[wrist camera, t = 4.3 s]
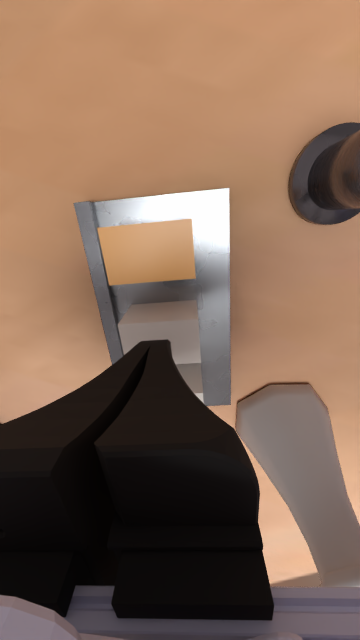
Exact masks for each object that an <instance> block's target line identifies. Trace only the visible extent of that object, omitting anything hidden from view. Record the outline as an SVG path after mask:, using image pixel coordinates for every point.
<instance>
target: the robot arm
mask: <svg viewBox="0 0 360 640" xmlns="http://www.w3.org/2000/svg"><path fill="white" fill-rule="evenodd" d="M259 497H260V491H259V484H258V480H257V476H256V473H255V471H254V468H253V466H252V463H251V461H250V459H249V456H248V454H247V452H246V450H245V448H244V446H243V444H242V442H241V440H240V439H239V437H238V435H237V433H236V431H235V430H234V428H232V427H231V426H230V425H228V424H227V423H226V422H224V421H223V420H222V419H220V418H219V417H218V416H217V415H215V414H214V413H213V412H212V411H211V410H210V409H209V408H208V407H207V406H205V404H204V403H203V402H202V401H201V400H200V399H199V398H198V397H197V396H196V395H195V394H194V393H193V391H192V390H191V389H190V387H189V386H188V385H187V383H186V382H185V380H184V379H183V377H182V376H181V374H180V372H179V370H178V369H177V367H176V364H175V362H174V360H173V357H172V350H171V342H170V341H169V340H168V339H165V340H149V341H140V342H139V343H138V344H137V345H135V346H134V347H133V348H132V349H131V350H130V351H128V352H127V353H126V354H125V355H124V356H123V357H121V358H120V359H119V360H118V361H117V362H115V363H114V364H113V365H112V366H110V367H109V368H108V369H106V370H105V371H104V372H102V373H101V374H100V375H98V376H97V377H96V378H94V379H93V380H91V381H90V382H88V383H86V384H85V385H83V386H82V387H80V388H78V389H77V390H75V391H73V392H71V393H69V394H67V395H65V396H64V397H62V398H60V399H58V400H56V401H54V402H52V403H50V404H48V405H46V406H44V407H42V408H40V409H38V410H35V411H33V412H31V413H28V414H26V415H24V416H21V417H19V418H17V419H14V420H12V421H9V422H7V423H4V424H1V425H0V640H360V587H270V584H269V579H268V575H267V570H266V566H265V561H264V557H263V552H262V550H263V543H262V537H261V533H260V529H259V524H258V512H259Z"/></svg>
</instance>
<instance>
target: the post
mask: <svg viewBox="0 0 360 640" xmlns="http://www.w3.org/2000/svg"><path fill="white" fill-rule="evenodd" d="M289 196H290V201H291V203H292V206H293V208H294V209H295V211H296V212H297V214H298V215H299V216H300V217H302V218H303V219H304V220H306V221H308V222H311V223H314V224H325V225H327V224H337V223H341V222H344V221H346V220H348V219H350V218H352V217H354V216H355V215H357V214H358V213H359V212H360V123H343V124H339V125H336V126H333V127H331V128H329V129H327V130H326V131H324V132H323V133H321V134H320V135H318V136H316V137H315V138H314V139H313V140H311V141H310V142H309V143H308V144H307V145H306V146H305V147H304V149H303V150H302V151H301V152H300V154H299V156H298V157H297V159H296V161H295V163H294V165H293V168H292V170H291V174H290V179H289Z"/></svg>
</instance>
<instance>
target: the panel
mask: <svg viewBox="0 0 360 640" xmlns="http://www.w3.org/2000/svg"><path fill="white" fill-rule="evenodd" d="M74 207H75V211H76V215H77V219H78V223H79V228H80V232H81V236H82V240H83V244H84V248H85V253H86V257H87V261H88V265H89V269H90V274H91V278H92V282H93V286H94V290H95V295H96V299H97V303H98V307H99V311H100V316H101V320H102V324H103V328H104V332H105V336H106V341H107V345H108V349H109V353H110V357H111V362H112V365H113V364H114V363H115V362H117V361H118V360H119V359H120V358H121V357H123V356H124V353H123V348H122V343H121V338H120V334H119V329H118V323H119V322H120V321H121V319H122V318H123V316H124V315H125V313H126V312H127V310H128V309H129V307H130V306H131V305H134V304H147V303H161V302H174V301H187V300H196V301H197V311H198V322H199V338H200V353H201V375H202V387H203V400H204V404H205V406H215V405H231V378H230V237H229V188H223V189H214V190H204V191H195V192H185V193H176V194H166V195H157V196H147V197H138V198H128V199H119V200H109V201H100V202H90V201H87V202H78V203H74ZM181 219H192V229H193V245H194V260H195V276H196V279H184V280H171V281H159V282H147V283H134V284H122V285H109V282H108V277H107V272H106V268H105V263H104V258H103V253H102V249H101V244H100V239H99V234H98V230H97V228H100V227H110V226H120V225H130V224H141V223H151V222H161V221H171V220H181ZM190 364H193V363H190Z"/></svg>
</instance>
